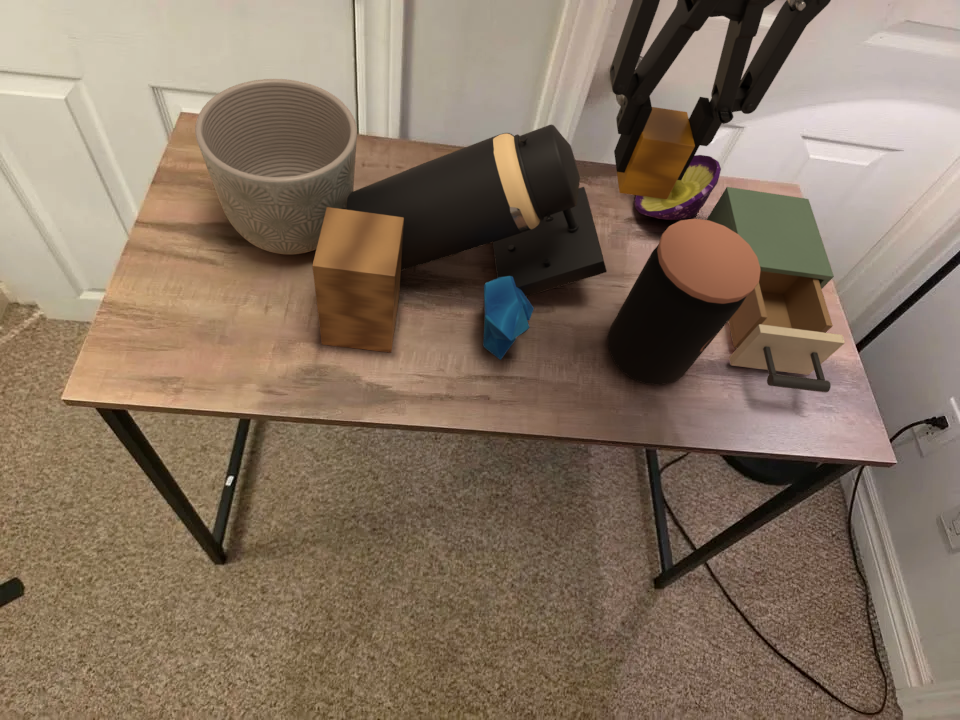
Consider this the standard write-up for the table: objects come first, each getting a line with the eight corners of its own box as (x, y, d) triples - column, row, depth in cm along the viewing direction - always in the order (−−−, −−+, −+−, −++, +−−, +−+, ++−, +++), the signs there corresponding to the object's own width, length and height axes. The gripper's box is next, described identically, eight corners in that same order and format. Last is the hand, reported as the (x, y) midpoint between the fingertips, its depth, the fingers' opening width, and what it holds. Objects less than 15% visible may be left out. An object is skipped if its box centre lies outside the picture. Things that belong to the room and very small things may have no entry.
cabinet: (793, 319, 86) (834, 276, 78) (711, 308, 85) (745, 264, 77) (772, 244, 93) (808, 198, 85) (697, 233, 92) (726, 186, 84)
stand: (399, 298, 78) (404, 217, 66) (391, 352, 74) (395, 276, 62) (333, 290, 77) (326, 206, 66) (321, 344, 73) (312, 265, 61)
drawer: (818, 411, 77) (857, 381, 71) (737, 402, 76) (769, 371, 70) (787, 296, 87) (819, 261, 80) (715, 287, 86) (741, 250, 79)
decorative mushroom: (696, 137, 77) (736, 230, 85) (698, 89, 85) (734, 178, 93) (603, 176, 84) (648, 258, 92) (612, 128, 92) (653, 208, 100)
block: (660, 166, 60) (687, 111, 55) (667, 199, 57) (695, 146, 52) (614, 159, 59) (637, 104, 54) (619, 193, 57) (643, 138, 52)
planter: (237, 171, 85) (214, 68, 73) (365, 186, 87) (364, 88, 75) (208, 268, 76) (176, 170, 64) (351, 282, 78) (347, 189, 66)
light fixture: (347, 165, 76) (553, 85, 69) (411, 257, 90) (588, 198, 83) (342, 244, 69) (573, 163, 62) (413, 330, 83) (607, 272, 76)
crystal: (542, 266, 76) (561, 333, 68) (512, 318, 82) (525, 386, 73) (486, 249, 74) (498, 316, 65) (458, 304, 79) (466, 373, 71)
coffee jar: (687, 398, 76) (765, 309, 61) (601, 378, 76) (658, 284, 61) (686, 327, 82) (757, 231, 67) (607, 309, 82) (660, 208, 67)
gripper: (906, -143, 40) (731, 151, 60) (641, -197, 39) (550, 125, 58) (949, -89, 36) (747, 207, 56) (656, -146, 35) (553, 181, 54)
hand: (647, 165), depth 57 cm, fingers closed on block, 4 cm apart
